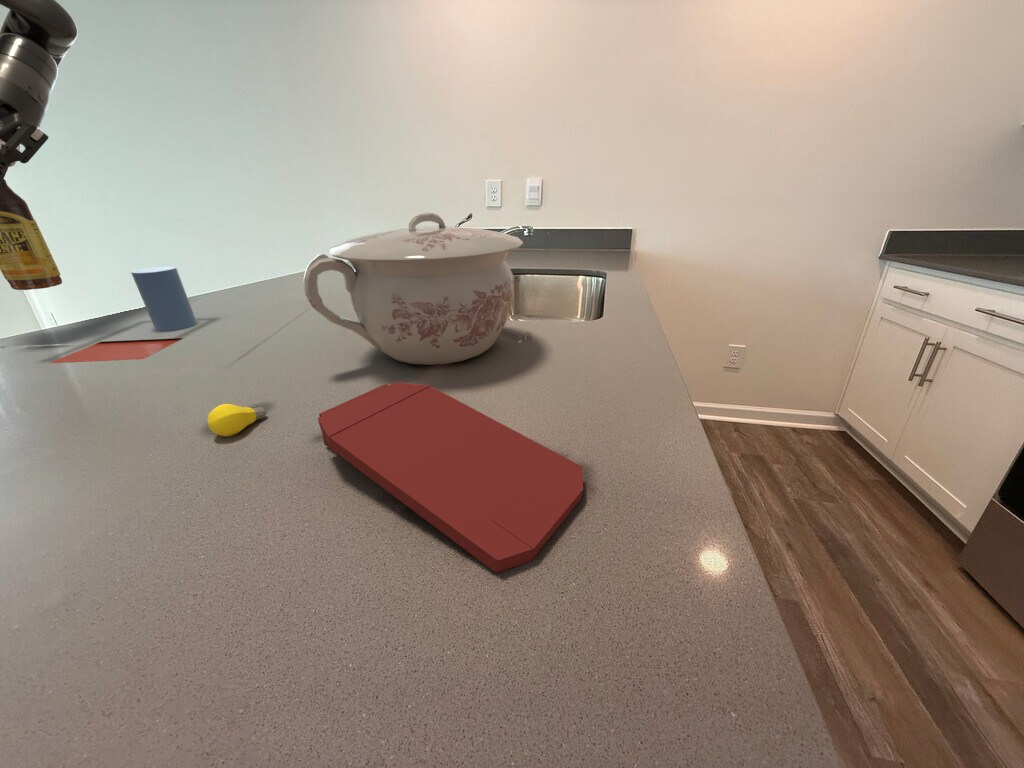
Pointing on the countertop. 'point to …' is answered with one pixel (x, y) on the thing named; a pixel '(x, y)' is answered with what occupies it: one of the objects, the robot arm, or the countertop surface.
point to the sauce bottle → (23, 246)
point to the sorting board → (118, 350)
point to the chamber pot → (423, 289)
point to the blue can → (164, 298)
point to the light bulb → (232, 418)
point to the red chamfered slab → (457, 469)
